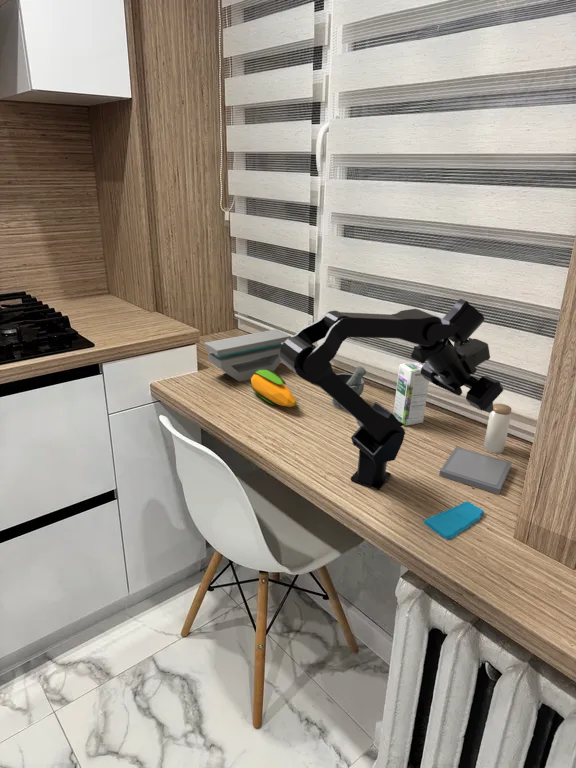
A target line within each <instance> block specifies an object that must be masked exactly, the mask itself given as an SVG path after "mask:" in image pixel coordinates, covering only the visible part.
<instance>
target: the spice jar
mask: <svg viewBox="0 0 576 768" xmlns="http://www.w3.org/2000/svg"><path fill="white" fill-rule="evenodd" d="M512 413H513V412H512V407H511V406H509V405H507V404H504V403H493V410H492V412H491V413H489V416H488V422H487V426H486V432H485V435H484V442H483V448H484V450H486V451H487V452H490V453H494V454H501V453H503V452H504V451H505V446H506V442H507V437H508V433H509V432H508V431H509V427H510V423H511V418H512Z"/></svg>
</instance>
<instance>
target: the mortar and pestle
mask: <svg viewBox="0 0 576 768" xmlns="http://www.w3.org/2000/svg"><path fill="white" fill-rule="evenodd" d="M354 370H355V371H354V372H353V373H344V372H341V373H336V374H337V375H338V376H339V377H340V378H341V379H342V380H343V381H344V382H345V383H346V384H347V385H348V386H349V387H351V388H352V389H353V390H354V391H355V392H356V393H357V394H358V395H359V396H360V397H361V395H362V394H363V392H364V388H365V380H364V379H363V377H364V376H365V375H366V374H367V370H366V369H365V367H363V366H357V367H356V368H355V369H354ZM332 405H333V407H335V408H338V409H342V410H345V409H344V408H343V407H342V406H341V405H340V404H339V403H337V402H336V401H335V400H334V399H333V398H332Z"/></svg>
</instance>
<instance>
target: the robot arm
mask: <svg viewBox="0 0 576 768" xmlns="http://www.w3.org/2000/svg"><path fill="white" fill-rule="evenodd" d="M484 322H485V317H484V314H483V313H481V312H480V311H479V310H478V309H477V308H475V307H474V306H473V305H471V304H470V303H469V301H468V300H465V299H463V298H459V299H458V300H457V301H456V302H455V304H454V305H453V307H451V309H450V310H449V311H448V312H447V313H446V314H445V315H444V317H439V316H437V315H435V314H434V315H433V314H431V313H428V312H425V311H424V310H421V309H419V308H411V309H404V310H400V311H398V312H396V313H393V314H384V313H383V314H382V313H365V312H364V313H363V312H345V311H344V312H343V311H338V310H330V311H328V312H326V313H325V314H323V315H322V316H321V318H320V319H318V320H316V321H314V322H311V323H310V324H308V325H306V326H304V327H302V328H301V329H300V330H298V331H297V333H295V334H294V335H293V336H291V338H289V339H287V340H286V341H285V342H283V343H282V346H281V349H280V356H279V357H280V360H281V363H282V364H283V365H285V366H286V368H288V369H289V370H291V372H293V373H294V374H295V375H297V377H300V379H303V380H305V381H306V382H307V383H308V382H309V383H310V384H312V385H314V386H316V387H318V388H320V389H321V390H322V391H323V392H325V393H326V394H327V395H328V396H330V398H332V400H333V399H334V400H335V401H336V402H337V403H339V404H340V405H341V406H342V407H343V408H344V409H343V410H345V411H347V412H348V413H349V415H351V416H352V417H354V418H355V420H356V422H357V426H358V429H357V430H356V431H355V432H354V433H353V434H352V435H351V436H350V438H351V439H350V440H351V441H352V445H353V446H354V447H356V448H357V449H358V462H357V470H356V471H355V472H354V473H353V474H352V476H351V477H350V481H352V482H354V483H357V484H361V485H363V486H366V487H369V488H372V489H374V490H378V491H379V490H382V488H383V487H384V485H385V484H386V483H387V481H389V479H390V478H391V477H392V473H391V472H389V471H387V464H388V462H391V461H396V458H397V456H398V454H399V452H400V449H401V447H402V446H403V445H402V444H403V443H404V439H405V435H406V430H405V429H404V424H403V423H402V422H401V421H399V420H398V419H397V418H396V417H395V416H394V415H393V412H391V411H389V410H388V409H387V408H385V407H384V406H383V405H381V404H380V403H379V402H377V401H375V402H374V403H373V405H372V406H371V405H370V404H369V403H368V402H367V401H366V400H365V399H364V398H362V397H361V395H360V396H359V395H358V394H357V393H356V392H355V391H354V390H353V389H352V388H351V387H349V386H348V385H347V384H346V383H345V382H344V381H343V380H342V379H341V378H340V377H339V376H338V375H337V374H338V373H335V371H334V368H333V365H332V363H331V361H333V359H334V358H335V357H336V355H337V354H338V351H339V349H340V348H341V346H342V343H343V342H344V341H345V340H347V339H348V338H364V339H365V338H370V339H371V338H373V339H375V338H376V339H399V340H402V341H406V342H408V343H411V344H415V345H414V346H413V351H412V352H411V355H410V357H411V359H413V360H414V361H416V362H417V363H420V364H423V367H422V368H421V374H422V376H423V377H424V378H425V379H427V380H429V383H430V384H431V383H432V384H433V385H435V386H437V387H440V388H441V389H443V390H446V391H448V392H450V393H452V394H453V395H456V396H459V397H460V396H461V395H462V394H463V389H462V387H463V386H464V387H465V388H468V389H469V390H468V391H467V392H466V396H465V399H466V401H467V403H469V405H471V406H472V407H474V408H476V409H477V410H479V411H484V412H486V413H488V414H490V413H491V412H492V410H493V404H494V402H495V400H497V398H498V397H499V396H500V395H501V394H502V393H503V392H504V387H503V385H502V383H501V382H500V381H499V380H496V379H494V378H492V377H490V376H488V375H483V376H481V377H480V378H479V379H478V378H477V377H474V376H473V375H474V374H475V373H476V372H477V371H478V369H477V367H478V366H479V365H481V364H482V363H484V362H485V361H488V360H490V359H491V355H490V348H489V347H490V346H489V344H488V343H487V342H486V341H482V340H480V339H478V338H471V336H472V335H473V334H474V333H475V331H476V330H478V329H479V327H480V326H481V325H482V324H483V323H484ZM322 339H323V340H322ZM320 340H321V341H322V342H321V343H319V345H317V346H316V345H314V344H315V343H316V342H319V341H320ZM452 342H453V343H452ZM416 345H417V346H416Z"/></svg>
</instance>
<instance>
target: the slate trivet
mask: <svg viewBox="0 0 576 768" xmlns="http://www.w3.org/2000/svg"><path fill="white" fill-rule="evenodd" d="M511 468H512V461H508V460H505V459H501V458H496V457H493V456H490V455H487V454H484V453H480V452H476V451H473V450H469V449H466V448H461V447H460V446H459V447H458V446H455V447H454V449H453V451H452V452H451V454H450V455H449V456H448V458H447V459H446V461H445V463H444V464H443V466H442V467H441V468H440V469H439V476H440V477H442V478H446V479H448V480H452V481H454V482H458V483H461V484H465V485H467V486H471V487H474V488H477V489H480V490H484V491H487V492H490V493H492V494H496V495H500V493H501V490H502V488H503V486H504V484H505V481H506V480H507V479H506V478H507V477H508V475H509V472H510V470H511Z"/></svg>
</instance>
